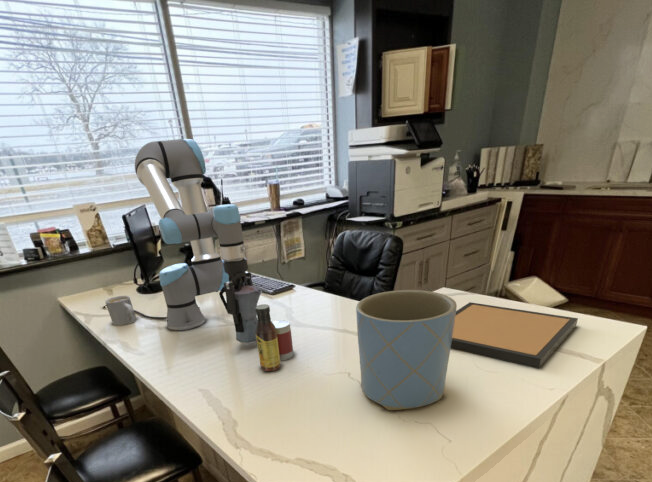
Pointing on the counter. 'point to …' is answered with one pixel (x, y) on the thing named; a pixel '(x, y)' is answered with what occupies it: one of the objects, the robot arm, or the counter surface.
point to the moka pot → (246, 311)
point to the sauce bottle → (267, 339)
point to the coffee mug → (121, 310)
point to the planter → (405, 346)
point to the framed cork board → (509, 333)
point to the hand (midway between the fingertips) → (246, 326)
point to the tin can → (284, 339)
